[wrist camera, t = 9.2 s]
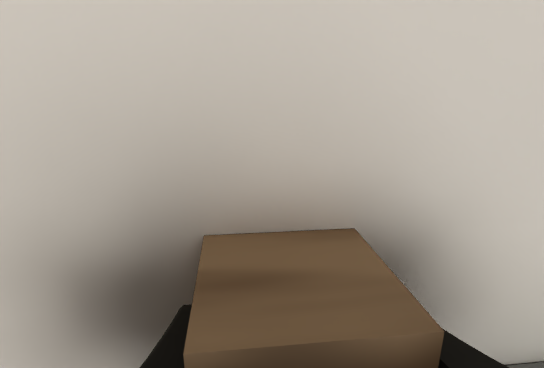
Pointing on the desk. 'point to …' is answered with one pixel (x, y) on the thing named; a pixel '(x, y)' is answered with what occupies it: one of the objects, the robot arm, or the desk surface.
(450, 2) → the desk surface
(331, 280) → the walnut cube
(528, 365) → the charcoal tote
